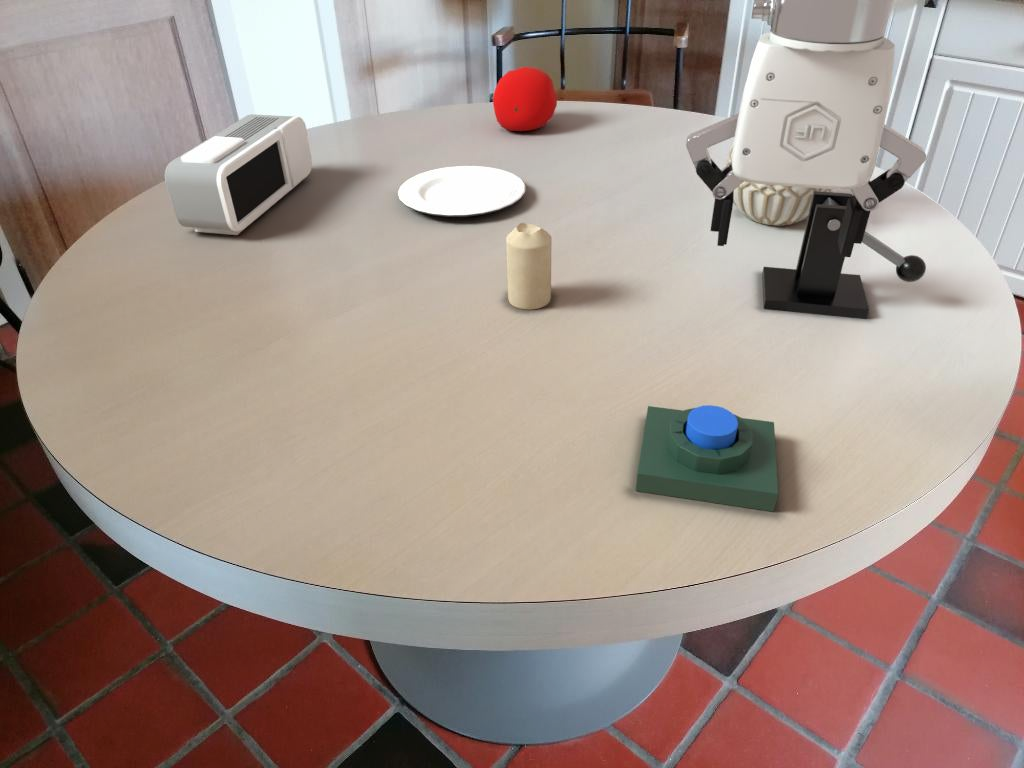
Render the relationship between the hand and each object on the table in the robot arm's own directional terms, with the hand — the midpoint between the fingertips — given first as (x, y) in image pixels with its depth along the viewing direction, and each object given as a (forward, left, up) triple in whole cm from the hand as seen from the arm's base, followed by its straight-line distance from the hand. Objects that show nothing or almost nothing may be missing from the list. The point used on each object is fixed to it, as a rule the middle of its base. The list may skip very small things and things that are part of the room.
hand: (781, 244), depth 62 cm
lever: (-13, -30, -14) cm, 35 cm away
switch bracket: (-9, -30, -20) cm, 37 cm away
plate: (+44, -52, -21) cm, 71 cm away
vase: (-5, -55, -21) cm, 59 cm away
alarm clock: (+77, -43, -21) cm, 91 cm away
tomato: (+42, -90, -21) cm, 101 cm away
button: (+3, +5, -17) cm, 18 cm away
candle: (+26, -22, -21) cm, 40 cm away
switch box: (+3, +5, -20) cm, 21 cm away
